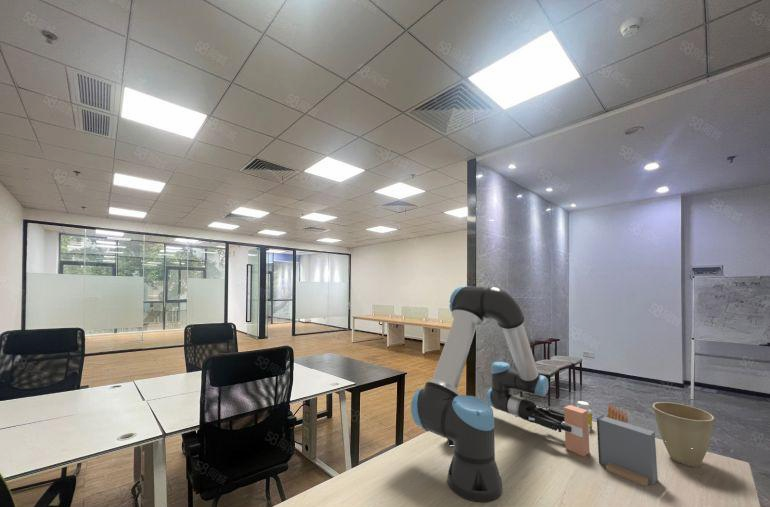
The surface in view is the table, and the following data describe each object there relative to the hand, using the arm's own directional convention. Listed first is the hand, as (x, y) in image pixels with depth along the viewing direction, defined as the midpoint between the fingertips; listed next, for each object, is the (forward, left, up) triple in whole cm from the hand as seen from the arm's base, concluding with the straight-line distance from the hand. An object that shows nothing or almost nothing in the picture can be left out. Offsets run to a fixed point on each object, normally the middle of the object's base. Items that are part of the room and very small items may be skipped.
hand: (585, 430), depth 110 cm
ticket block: (+11, -1, -8) cm, 14 cm away
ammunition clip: (+4, +20, -8) cm, 22 cm away
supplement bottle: (-8, +22, -8) cm, 25 cm away
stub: (-3, 0, -8) cm, 8 cm away
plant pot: (+22, +21, -8) cm, 32 cm away
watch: (-34, -27, -8) cm, 44 cm away
